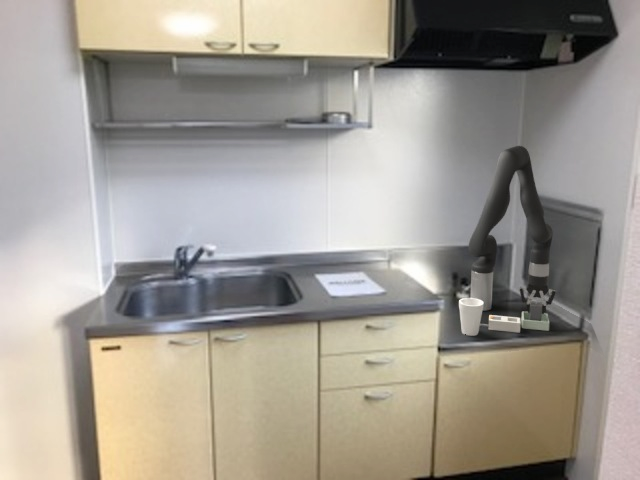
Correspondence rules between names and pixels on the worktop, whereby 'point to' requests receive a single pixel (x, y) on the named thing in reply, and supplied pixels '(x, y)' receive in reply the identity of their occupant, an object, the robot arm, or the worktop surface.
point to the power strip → (503, 323)
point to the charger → (535, 311)
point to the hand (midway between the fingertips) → (535, 312)
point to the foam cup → (470, 315)
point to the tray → (535, 322)
